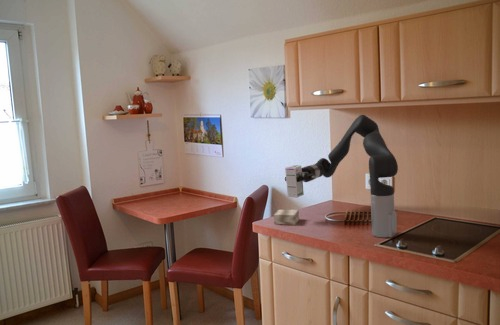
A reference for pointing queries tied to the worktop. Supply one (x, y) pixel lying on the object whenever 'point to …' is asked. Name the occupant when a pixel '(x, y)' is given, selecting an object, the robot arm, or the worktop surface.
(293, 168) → the syrup box
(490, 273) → the worktop surface
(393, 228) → the robot arm
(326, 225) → the worktop surface
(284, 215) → the ash block
